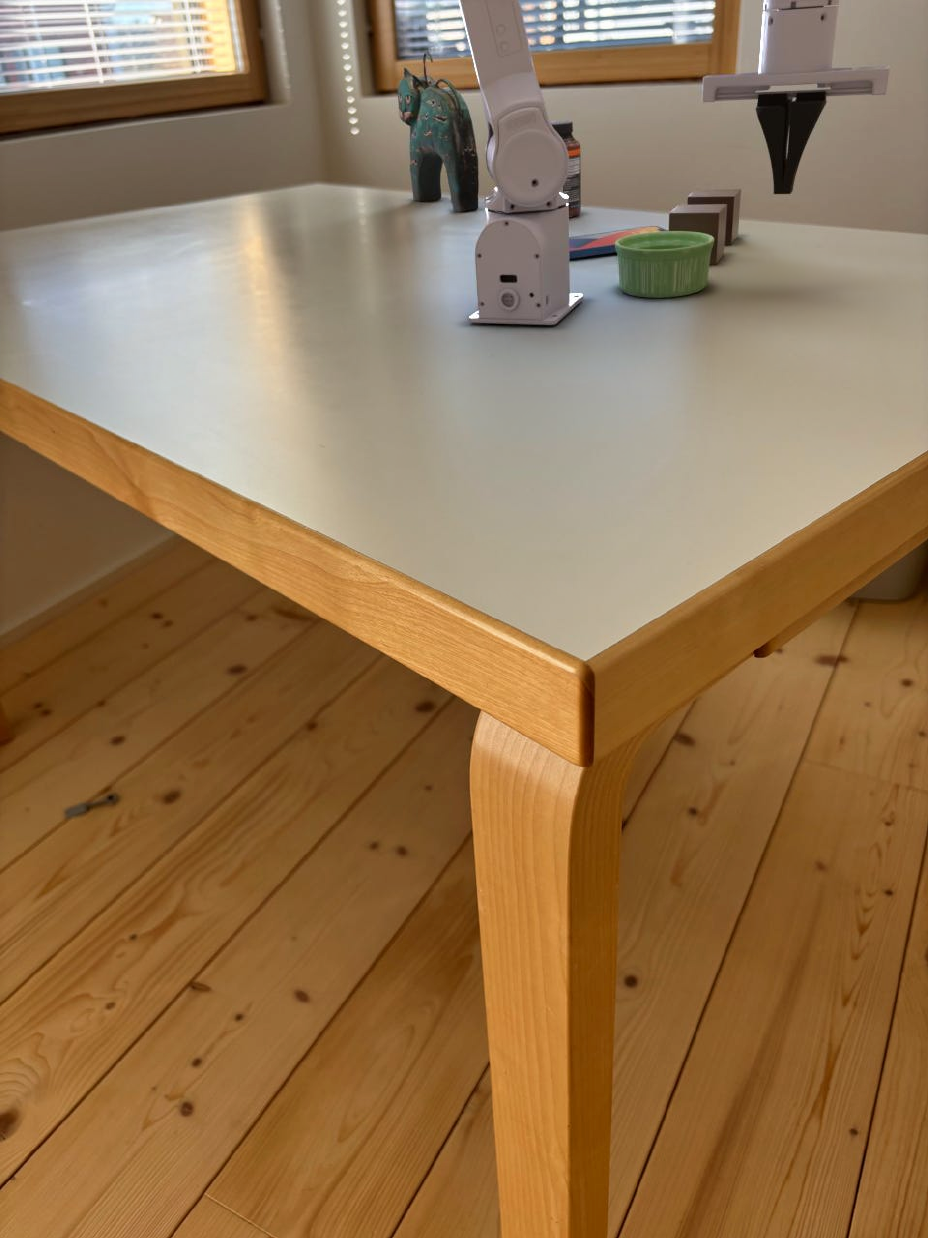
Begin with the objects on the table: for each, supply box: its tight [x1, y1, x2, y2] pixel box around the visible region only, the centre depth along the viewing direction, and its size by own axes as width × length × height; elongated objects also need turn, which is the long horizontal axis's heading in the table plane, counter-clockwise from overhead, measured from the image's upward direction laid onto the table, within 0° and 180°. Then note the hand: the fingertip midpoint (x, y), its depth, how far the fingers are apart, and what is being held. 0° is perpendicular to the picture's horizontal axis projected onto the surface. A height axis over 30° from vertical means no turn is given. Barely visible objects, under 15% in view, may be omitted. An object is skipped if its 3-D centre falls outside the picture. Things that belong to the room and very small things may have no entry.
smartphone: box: [569, 225, 669, 260], centre depth 111 cm, size 7×15×1 cm, turn 104°
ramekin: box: [615, 231, 714, 299], centre depth 93 cm, size 9×9×4 cm
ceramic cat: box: [397, 50, 480, 213], centre depth 144 cm, size 20×6×20 cm, turn 24°
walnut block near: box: [668, 204, 727, 266], centre depth 103 cm, size 5×5×5 cm
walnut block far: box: [686, 188, 742, 246], centre depth 110 cm, size 5×5×5 cm
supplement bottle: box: [549, 119, 582, 218], centre depth 130 cm, size 6×6×11 cm
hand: (783, 192), depth 86 cm, fingers closed
